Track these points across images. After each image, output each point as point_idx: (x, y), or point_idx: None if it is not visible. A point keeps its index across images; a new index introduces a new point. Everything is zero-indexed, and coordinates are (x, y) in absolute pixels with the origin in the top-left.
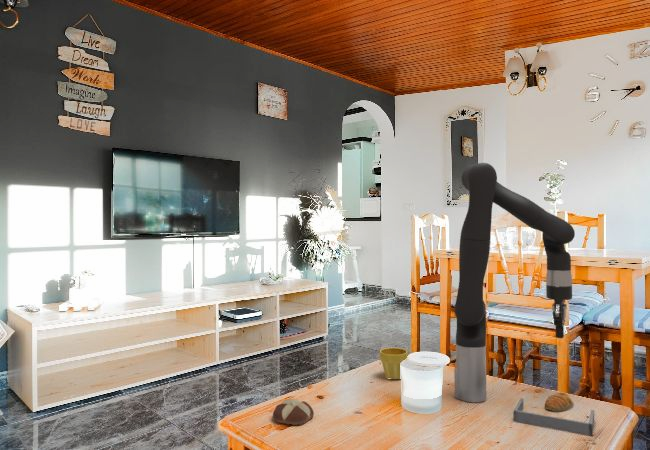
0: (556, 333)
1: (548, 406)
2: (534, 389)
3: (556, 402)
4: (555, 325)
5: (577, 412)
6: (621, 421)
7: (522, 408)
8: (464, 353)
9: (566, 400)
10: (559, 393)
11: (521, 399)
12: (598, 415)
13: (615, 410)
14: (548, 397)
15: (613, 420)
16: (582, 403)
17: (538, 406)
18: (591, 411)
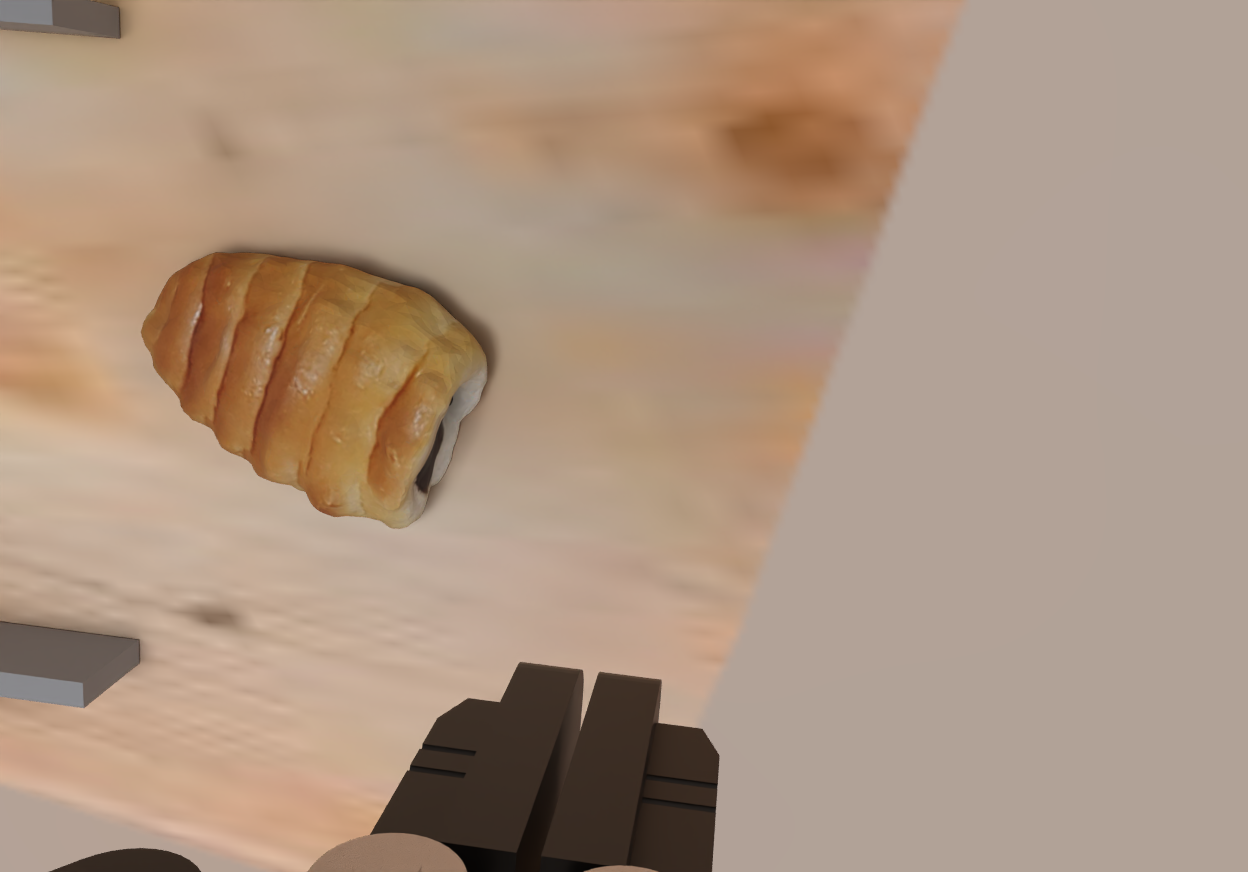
0: (500, 727)
1: (161, 293)
2: (829, 103)
3: (194, 377)
4: (338, 864)
5: (278, 543)
6: (242, 856)
7: (48, 31)
8: None
9: (268, 477)
10: (403, 415)
11: (15, 6)
12: (292, 705)
13: None
14: (318, 293)
15: (233, 803)
16: (554, 600)
17: (260, 185)
18: (40, 682)
